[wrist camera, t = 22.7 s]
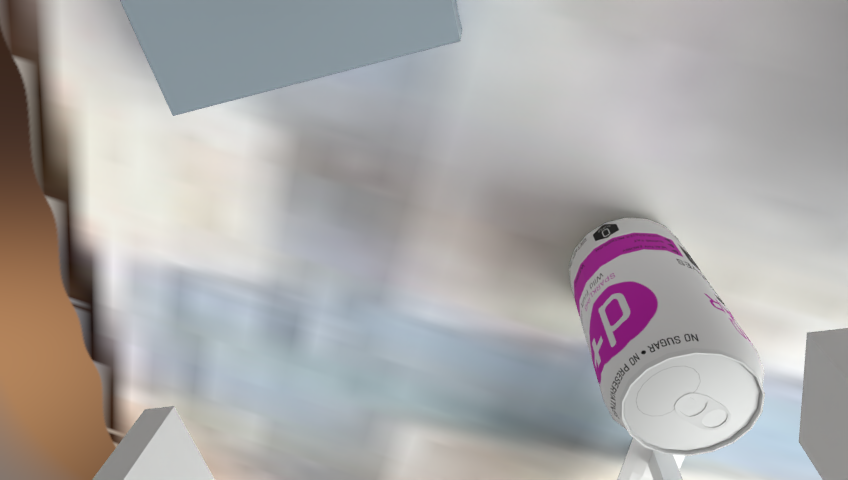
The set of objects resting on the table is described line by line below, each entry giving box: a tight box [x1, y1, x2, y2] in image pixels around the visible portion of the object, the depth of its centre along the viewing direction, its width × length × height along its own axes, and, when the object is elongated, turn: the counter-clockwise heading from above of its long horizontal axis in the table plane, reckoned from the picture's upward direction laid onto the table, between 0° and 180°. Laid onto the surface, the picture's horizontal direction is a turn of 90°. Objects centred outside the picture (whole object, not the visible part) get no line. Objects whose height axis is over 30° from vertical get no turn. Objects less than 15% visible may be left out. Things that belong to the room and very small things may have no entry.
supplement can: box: [569, 218, 765, 456], centre depth 35 cm, size 8×8×15 cm
